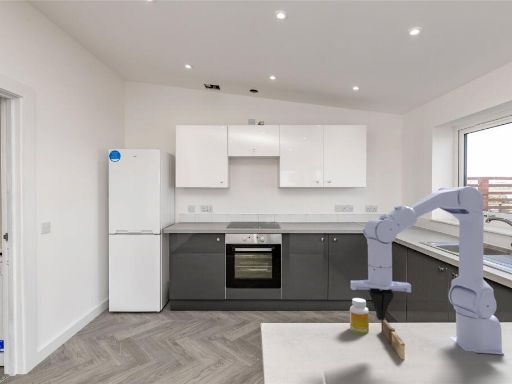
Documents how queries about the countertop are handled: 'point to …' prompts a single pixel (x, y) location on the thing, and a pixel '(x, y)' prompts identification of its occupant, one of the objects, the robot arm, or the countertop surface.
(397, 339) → the wooden flat block
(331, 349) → the countertop surface
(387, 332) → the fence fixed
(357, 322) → the supplement bottle
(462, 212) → the robot arm
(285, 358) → the countertop surface
